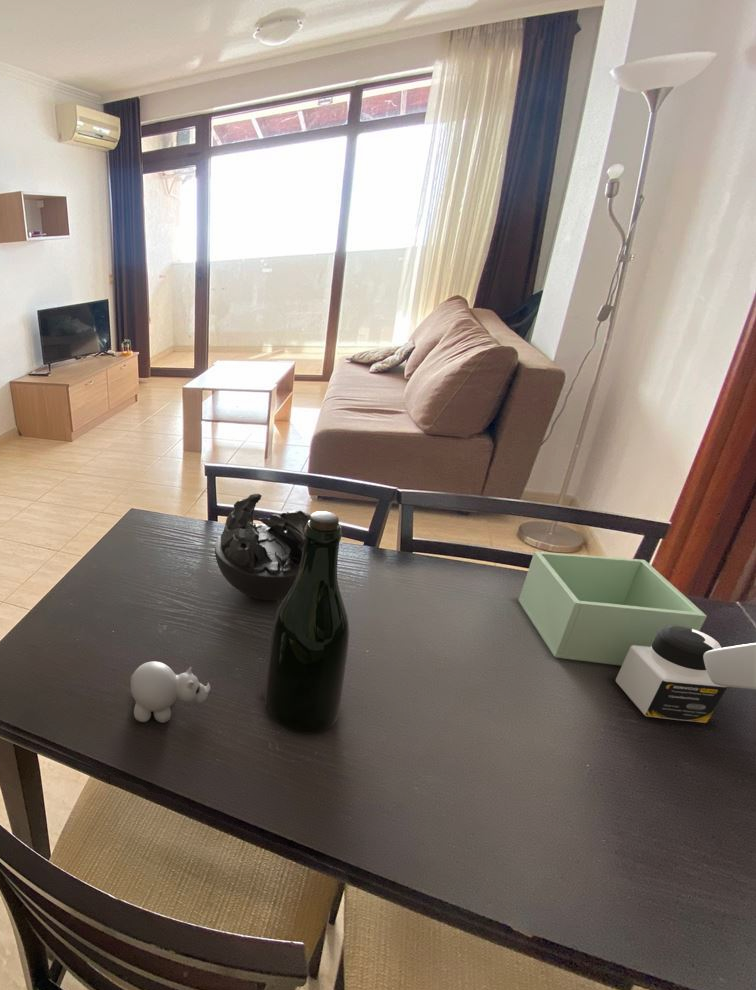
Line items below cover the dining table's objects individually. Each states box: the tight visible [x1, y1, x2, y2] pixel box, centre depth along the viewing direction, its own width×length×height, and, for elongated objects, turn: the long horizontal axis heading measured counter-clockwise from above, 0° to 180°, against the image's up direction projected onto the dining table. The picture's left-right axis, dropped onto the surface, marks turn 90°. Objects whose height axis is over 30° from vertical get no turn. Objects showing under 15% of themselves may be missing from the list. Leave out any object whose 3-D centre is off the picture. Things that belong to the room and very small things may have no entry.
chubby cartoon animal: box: [129, 660, 211, 724], centre depth 81 cm, size 7×12×8 cm, turn 83°
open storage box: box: [518, 550, 708, 667], centre depth 89 cm, size 16×16×11 cm
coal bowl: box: [214, 492, 311, 601], centre depth 105 cm, size 20×20×19 cm
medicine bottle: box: [615, 626, 728, 724], centre depth 75 cm, size 7×7×12 cm
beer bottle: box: [264, 511, 350, 734], centre depth 74 cm, size 10×10×33 cm
